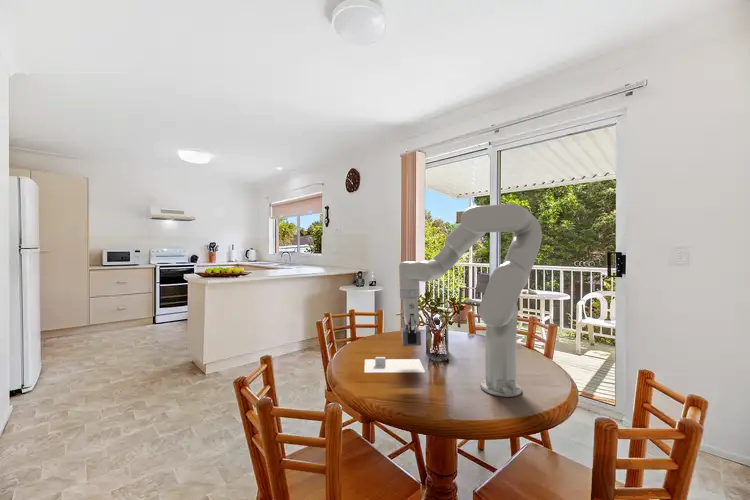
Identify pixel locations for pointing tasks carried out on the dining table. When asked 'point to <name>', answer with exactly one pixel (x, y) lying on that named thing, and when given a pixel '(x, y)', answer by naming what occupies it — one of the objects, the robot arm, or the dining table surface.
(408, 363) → the hub board
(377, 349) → the dining table surface
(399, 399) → the dining table surface
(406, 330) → the dark grey box
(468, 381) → the dining table surface
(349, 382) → the dining table surface
